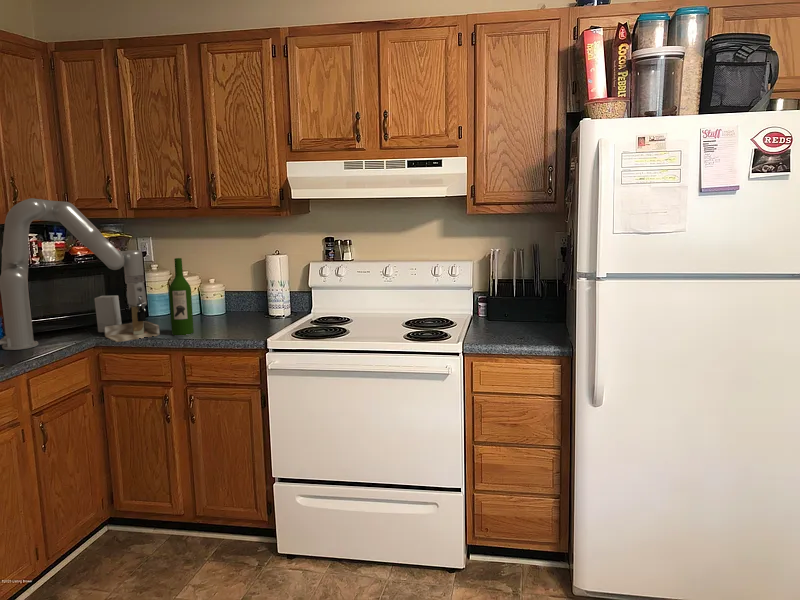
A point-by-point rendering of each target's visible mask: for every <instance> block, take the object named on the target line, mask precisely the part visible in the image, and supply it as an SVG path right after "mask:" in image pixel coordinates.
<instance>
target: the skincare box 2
mask: <svg viewBox="0 0 800 600" xmlns="http://www.w3.org/2000/svg"><path fill="white" fill-rule="evenodd" d="M140 305H141V304H140ZM131 308H132V319H131V320H132V321H131V323H132V324H133V334H134V335H138V334H144V323H143V321H138V319H137V312H138V310H137V307H135V306H132V305H131ZM139 309H140V307H139Z"/></svg>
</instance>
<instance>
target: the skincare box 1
mask: <svg viewBox="0 0 800 600" xmlns="http://www.w3.org/2000/svg"><path fill="white" fill-rule="evenodd" d="M119 299H120V297H119V295H117V294H116V295H100V296H97V297H94V308H95V314H96V323H97V324H96V325H97V332H98V333H105V331H104V327H106V326H113V325H120V324H123V323H122V315H121V307H120V300H119Z"/></svg>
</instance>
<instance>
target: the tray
mask: <svg viewBox="0 0 800 600" xmlns="http://www.w3.org/2000/svg"><path fill="white" fill-rule="evenodd" d="M143 323H144V334H138V335H134V334H133V324H132V322H128V323H122V324H120V325H113V326H106V327H104V331H105V332H104V337H105V338H106V339H108V340H111V341H113V342H115V343H121V342H128V341H133V340H140V339H139V338H141V339H145V338H144V337H148V338H152V336H154V337H159V336H158V335H160V336H161V334H160V332H161V331H160V325H159V324H156V323H154V322H151V321H148V320H145V321H143Z"/></svg>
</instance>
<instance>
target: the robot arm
mask: <svg viewBox="0 0 800 600" xmlns="http://www.w3.org/2000/svg"><path fill="white" fill-rule="evenodd" d="M33 221H47V222H56V223H57V222H58V223H60V224H62V226H63V227H64V228H65V229H66V230H67V231H68V232H70V233H71V234H72V236H74V237H75V238H76V239H77V240H78V241H79V242H80V243H81V244H82V245H83V246H84V247H86V248H87V249H88V250H90V251H91V252H92V253H93V254H94V256H96V258H98V259H99V260H100V261H101V262H102V263H103V264H104V265H105V266H106V267H107V268H108V269H110V270H113V271H117V270H120V269H122V268H124V270H123V271H124V282H125V284H126V298H127V304H128V313H129V314H128V316H129V319H131V320H132V308H131V305H132V306H135V307H137V310H138V312H137V319H138V321H147V320H146V306H147V305H148V304H147V293H146V288H145V274H144V262H143V261H144V258H143V252H142V251H141V250H140V249H139V250H138V249H130V250H129V249H128V250H119V249H117V248H116V247H115V246H114V244H112V243H111V241H109V240H108V239H107V238H106V237H105V235H103V233H101V232H102V231H100V230H99V229H98V228H97V227H96V226H95V225H94V224H93V223H92V222H91V221H90V220H89V219H88V218H87V217H86V216H85V215H84V214H83V213H82V212H81V211H80V210H79V208H77V207H76V206H75V205H74V204H73V203H71V202H69V201H58V200H49V199H42V198H34V197H33V198H32V197H31V198H26V199H24V200H22V201H18V202H17V203H16V204H14V205H13V206H12V207H11V208H10V209H9V211H8V212H7V214H6V217H5V220H4V228H3V229H4V230H3V240H2V241H3V242H2V247H1V267H0V268H1V269H0V270H1V271H0V297H1V298H0V299H1V305H2V314H3V315H2V316H3V322H4V333H5V335H4V336H3V338H1V339H0V346H1V347H2V350H6V351H20V350H26V349H31V348H35V347H37V346H39V341H37V340H34V330H33V320H32V310H31V302H30V293H29V281H28V279H29V261H30V249H29V235H30V225H31V223H32V222H33ZM140 304H141V305H140ZM139 307H140V309H139Z"/></svg>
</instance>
